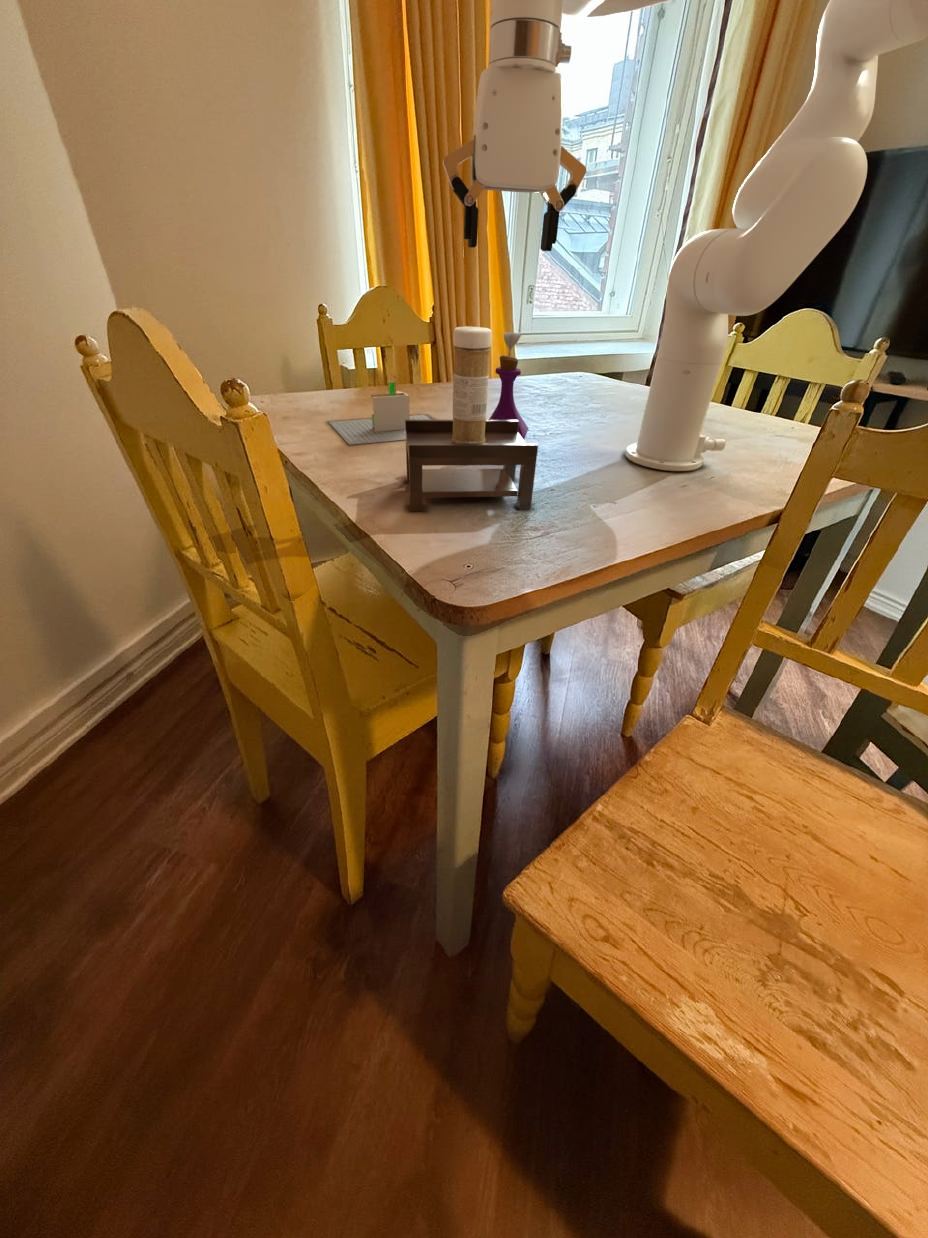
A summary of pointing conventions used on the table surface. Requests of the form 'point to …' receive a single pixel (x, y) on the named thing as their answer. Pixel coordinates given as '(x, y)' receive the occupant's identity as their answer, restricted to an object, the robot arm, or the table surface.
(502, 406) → the perfume bottle
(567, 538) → the table surface
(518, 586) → the table surface
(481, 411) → the sprinkles bottle
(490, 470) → the rack
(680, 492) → the table surface
